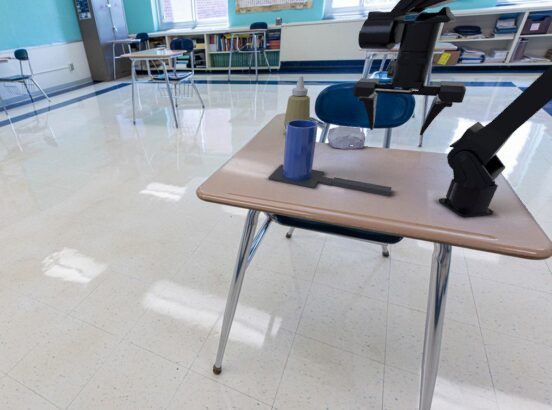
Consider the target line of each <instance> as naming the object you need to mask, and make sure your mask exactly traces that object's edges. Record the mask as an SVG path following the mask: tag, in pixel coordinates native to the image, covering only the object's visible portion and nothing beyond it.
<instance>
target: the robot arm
mask: <svg viewBox="0 0 552 410" xmlns="http://www.w3.org/2000/svg"><path fill="white" fill-rule="evenodd" d="M454 2H458V0H399V1H398V2H397V3H396V4H395V6H394V7H392V9H391V10H390V11H380V10H371V11H369V12H368V13H367V18H366V19H365V20H364V22H363V23H362V26H361V28H360V30H359V32H358V40H357V41H358V46H359V49H362V50H376V51H377V50H380V51H381V50H383V51H391V50H393V49H394V47H396V45H399V47H398V52H397V54H396V55H397V56H396V60H390V61H389V65H388V69H387V73H386V79H391V82H390V83H385V82H384V83H381V82H379V80H380V79H379V78H369V77H368V78H367V77H362V78H360V79H359V80H357V81H356V82H355V83H354V86H353V90H352V96H353V97H358V102H362V103H363V105H364V108H365V110H366V111H365V112H366V115H367V119H368V120H367V121H368V126H369V130H370V131H373V130H374V126H375V121H376V111H377V100H378V94H390V95H391V94H392V95H393V94H394V95H408V96H409V95H411V96H427V97H429V96H430V97H433V100H432V102H431V104H430V107H429V109H428V111H427V114H426V116H425V118H424V120H423V123H422V125H421V128H420V132H419V136H423V134H424V133H425V132H426V130H427V129H428V128H429V127H430V126H431V124H432V123H433V121H434V120H435V118H436V117H437V116H438V115H440V113H442V111H443V110H444V109H445V108H452V107H453V104H454V103H455V104H461V103H463V100H464V98H465V96H466V92H467V87H466V85H465V83H464V82H462V81H445V80H444V81H443V80H442V81H440V82H439V85H430V84H429V85H427V84H426V80H427V77H428V73H429V69H430V66H431V63H432V59H433V54H434V51H435V47H436V45H437V44H436V43H437V40H438V36H439V33H440V30H441V26H442V24H445V23H446V24H447V23H453V22H454V23H455V22H456V21H457V16H455V15H454V14H453V12H452V10H451V8H450V6H446V5H448V4H451V3H454ZM442 6H443V7H442ZM440 7H442V8H441V9H440V10H439V11H432V12H431V11H430V12H424V11H427V9H436V8H440ZM416 15H417V16H416ZM407 16H416V18H414V19H406V17H407ZM551 101H552V64H551V65H550V66H549V67H548V68H547V69H545V70H544V71H543V72H542V73H541V75H539V76H538V77H537V78H535V80H534V81H533V82H532V83H531V84H529V86H527V88H526V89H525V90H523V91H522V92H521V93H520V94H519V95H518V96H517V97H516V98H515V99H514V100H512V101H511V102H510V104H508V105H507V106H506V107H505V108H504V109H503V110H501V112H500V113H499V114H498V115H497V116H495V117H494V118H493V119H492V120H491V121H490V122H488V123H487V124H485V125H483V124H482V123H481V122H480V121H477V122H475V123H474V124H472V125H470V127H468V128H466V130H465V131H464V132H463V134H462V135H461V136H460V138H458V139H457V140H455V141H454V142H453V143H451V144H450V145H449V148H451V150H449V151H448V153H447V156H446V158H447V164H448V166H449V167H450V169H451V170H452V174H453V175H452V176H453V178H452V179H451V181H450V184H449V187H448V189H447V191H446V194H445V197H443V198H442V197H441V198H439V199H438V203H440V204H442V205H443V206H444V207H446V208H447V209H449V210H450V211H452V212H453V213H455V214H456V215H458V216H460V217H462V218H466V217H467V218H468V217H478V216H487V215H494V213H495V211H494V210H492V209H491V208H489V207H490V204H491V203H492V201H493V198H494V196H495V194H496V191H497V189H498V187H499V185H498V184H497V183H496V179H497V178H498V177H499V176H500V175H501V174H502V172H504V170H505V169H506V165H505V164H504V163H503V161H502V160H501V159H500V157H499V156H498V155H497V154H498V153H499V151H500V150H501V149H502V148H503V147H504V145H505V144H506V143H507V142H508V140H509V139H510V138H511V137H512V136H513V134H514V133H515V132H516V131H517V130H518V129H519V128H521V126H523V125H524V124H525V123H526V122H527V121H529V120H530V119H531V118H532V117H533V116H534V115H536V114H537V113H538V112H539V111H540V110H541V109H542V108H544V107H545V106H546V105H547V104H548V103H550V102H551Z"/></svg>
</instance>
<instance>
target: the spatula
mask: <svg viewBox="0 0 552 410" xmlns="http://www.w3.org/2000/svg"><path fill="white" fill-rule="evenodd" d="M324 175H325V171H323V170H317V169H312V173H311V177H310V178H308V179H306V180H292V179H288V178H286V177H285V176H284V175H283V163H282V164H280V165H279V166H278V167H277V168H276V169H275V170H274V171H273V172H272V173H271V174H270V175H269V176H268V180H270V181H274V182H280V183H285V184H290V185H295V186H300V187H305V188H310V189H315V188H316V187H317V185H318V184H320V185H325V186H331V187H332V186H333V187H338V188H343V189H349V190H353V191H360V192H364V193H370V194H375V195H381V196H385V197H390V196H391V192H392V188H393V187H392V186H387V185H382V184H375V183H369V182H364V181H358V180H352V179H348V178H343V177H333V178H332V177H327V176H324Z"/></svg>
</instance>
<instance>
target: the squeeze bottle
mask: <svg viewBox="0 0 552 410" xmlns="http://www.w3.org/2000/svg"><path fill="white" fill-rule="evenodd" d="M310 109H311V97H310V96H309V95H308V88H306V87H305V81H304V76H303V75H300V76H298V80H297V82H296V86H295V87H293V88H292V89H291V95H290V96H288V99H287V104H286V110H285V116H284V121H283V124H284V125H283V126H284V129H285V130H286V125H287V122H289V121H293V120H310V119H311V116H310V115H311V113H310V112H311V110H310ZM310 121H311V120H310Z"/></svg>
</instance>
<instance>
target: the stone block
mask: <svg viewBox="0 0 552 410" xmlns="http://www.w3.org/2000/svg"><path fill="white" fill-rule="evenodd" d="M326 138H327V141H328V145H329V146H330V147H332V148H335V149H336V148H337V149H341V150H362V149H364V146H365V141H366V134H365V132H364V131H362V130H361V127H360V126H358V127H357V126H356V127H355V126H347V125H346V126H345V125H341V126H340V125H339V126H335V127H331V128H328V131H327V137H326ZM350 145H353V146H350Z"/></svg>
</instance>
